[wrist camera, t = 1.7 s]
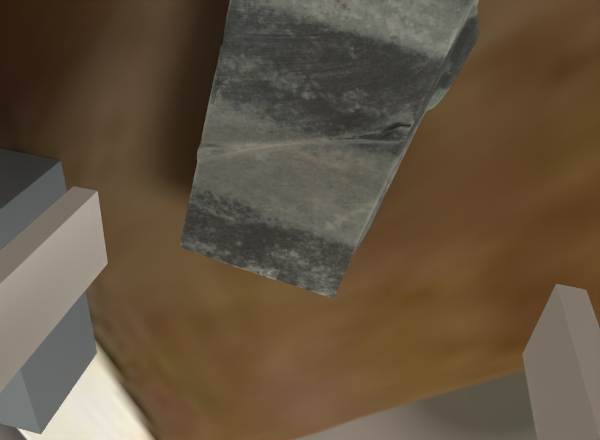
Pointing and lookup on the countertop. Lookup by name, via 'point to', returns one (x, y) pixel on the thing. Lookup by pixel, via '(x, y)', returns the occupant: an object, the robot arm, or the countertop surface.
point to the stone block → (315, 127)
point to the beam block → (76, 322)
